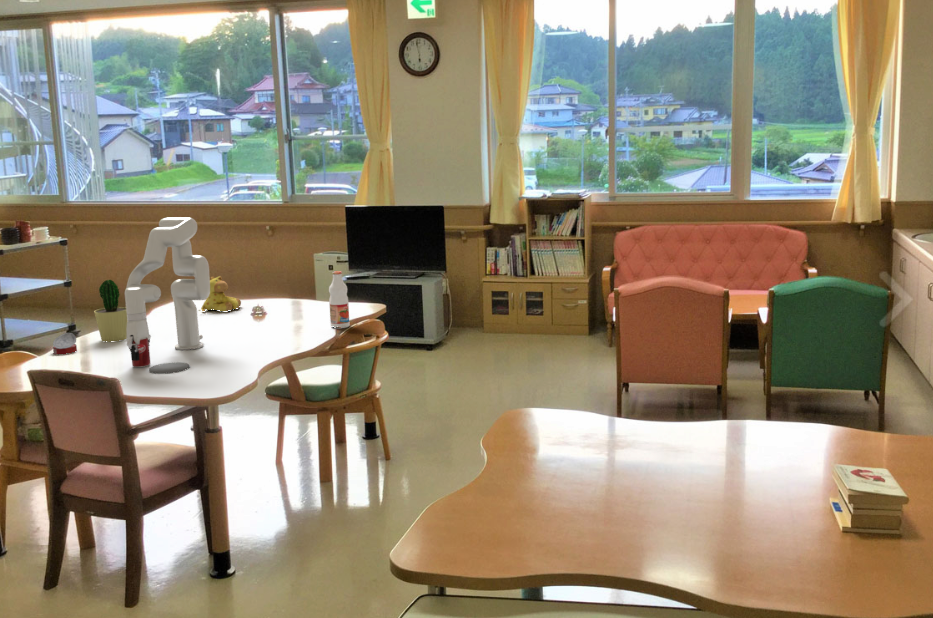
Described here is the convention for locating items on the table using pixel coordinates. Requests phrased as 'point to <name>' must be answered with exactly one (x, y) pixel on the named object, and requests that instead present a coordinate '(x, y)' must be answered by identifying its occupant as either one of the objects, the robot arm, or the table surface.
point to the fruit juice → (338, 301)
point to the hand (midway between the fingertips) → (140, 357)
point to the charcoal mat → (169, 367)
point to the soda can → (142, 353)
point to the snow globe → (65, 344)
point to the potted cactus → (111, 314)
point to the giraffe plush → (219, 297)
